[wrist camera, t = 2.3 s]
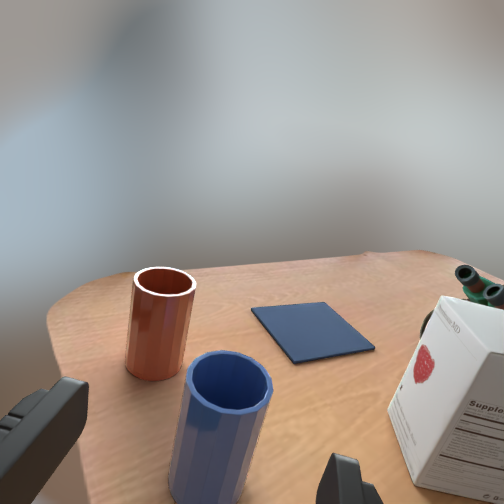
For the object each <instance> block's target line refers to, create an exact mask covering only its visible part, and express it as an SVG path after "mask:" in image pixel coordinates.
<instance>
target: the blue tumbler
mask: <svg viewBox="0 0 504 504" xmlns="http://www.w3.org/2000/svg"><path fill="white" fill-rule="evenodd" d="M272 394H273V385H272V379H271V377H270V375H269V374H268V372H267V371H266V369H265V368H264V367H263V366H262V365H261V364H259V363H258V362H257V361H255V360H254V359H253V358H251V357H248V356H246V355H243V354H241V353H238V352H233V351H225V350H220V351H213V352H207V353H205V354H203V355H201V356H199V357H197V358H196V359H194V361H193V362H192V363H191V364H190V366H189V367H188V369H187V373H186V379H185V384H184V390H183V395H182V401H181V406H180V412H179V417H178V423H177V428H176V433H175V439H174V444H173V450H172V455H171V461H170V467H169V473H168V485H169V489H170V492H171V495H172V497H173V499H174V500H175V501H176V503H177V504H236V503H237V502H238V500H239V499H240V497H241V494H242V491H243V488H244V485H245V483H246V479H247V476H248V473H249V470H250V466H251V463H252V460H253V456H254V453H255V450H256V447H257V443H258V440H259V437H260V433H261V430H262V427H263V423H264V420H265V417H266V414H267V410H268V407H269V404H270V400H271V397H272Z"/></svg>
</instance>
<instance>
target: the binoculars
mask: <svg viewBox="0 0 504 504" xmlns="http://www.w3.org/2000/svg"><path fill="white" fill-rule="evenodd" d="M455 276H456V277H457V279H458V280H459V281H460V282H461V283H462V284H463V285H464V286H463V291H464V293H465V294H466V296H467V297H468V298H469V299H467V300H466V299H462V300H466V301H469V302H473V303H477V304H480V305H485V306H489V307H493V308H498V309H502V310H504V285H501V284H495V283H493V282H491V281H489V280H487V279H486V278H483V277H481V276H479V274H478V273H477V272H476V271H475V269H474V268H473V267H471V266H469V265H461V266H459V267H457V269H456V270H455ZM434 310H435V309H434ZM434 310H433V311H431V312H430V313H429V314H428V315H427V316H426V318H425V319H424V321H423V324H422V327H421V330H420V339H421V337H422V335H423V333H424V331H425V328H426V325H427V323H428V321H429V320H430V318H431V316H432V314H433V312H434Z"/></svg>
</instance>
